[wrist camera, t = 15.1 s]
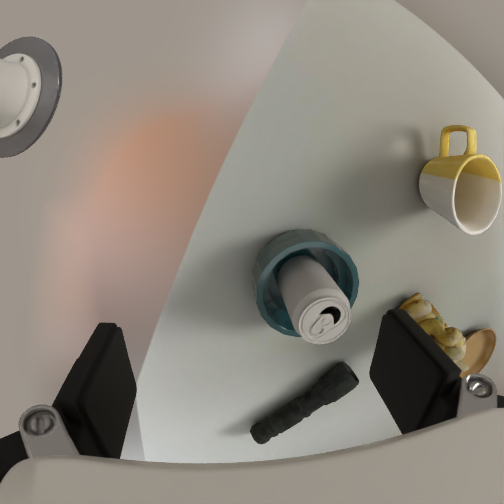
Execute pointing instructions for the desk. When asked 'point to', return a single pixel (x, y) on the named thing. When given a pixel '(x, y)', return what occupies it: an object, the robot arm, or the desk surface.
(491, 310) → the desk surface
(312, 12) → the desk surface
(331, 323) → the beverage can
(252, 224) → the desk surface
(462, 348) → the decorative figurine
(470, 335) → the plant saucer
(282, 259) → the bowl
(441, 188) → the mug
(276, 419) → the flashlight
